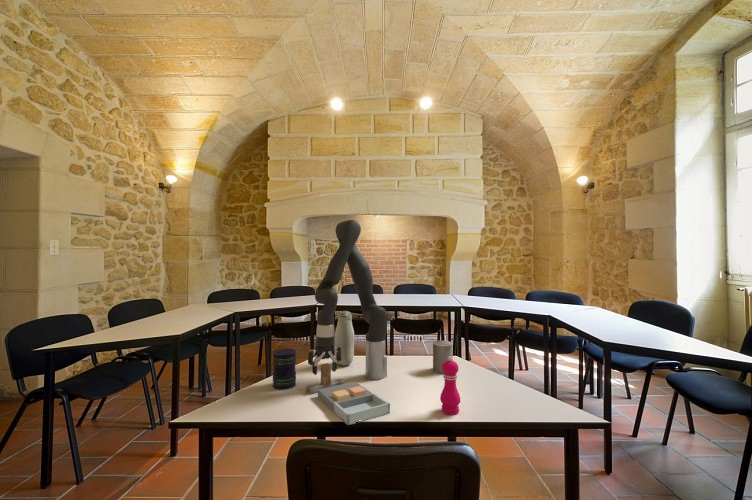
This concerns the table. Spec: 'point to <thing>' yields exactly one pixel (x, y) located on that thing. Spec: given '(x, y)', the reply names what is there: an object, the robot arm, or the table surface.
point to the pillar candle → (441, 354)
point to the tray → (363, 410)
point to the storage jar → (284, 369)
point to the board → (329, 400)
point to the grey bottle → (345, 338)
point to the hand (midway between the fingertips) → (324, 372)
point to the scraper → (324, 380)
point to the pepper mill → (450, 388)
